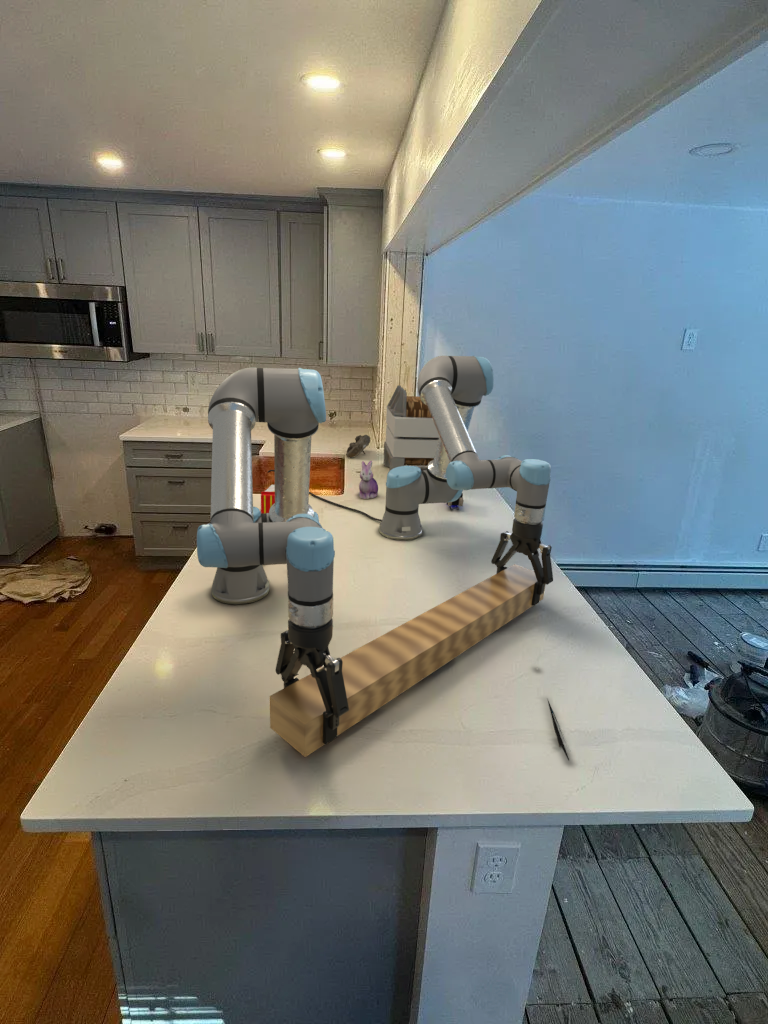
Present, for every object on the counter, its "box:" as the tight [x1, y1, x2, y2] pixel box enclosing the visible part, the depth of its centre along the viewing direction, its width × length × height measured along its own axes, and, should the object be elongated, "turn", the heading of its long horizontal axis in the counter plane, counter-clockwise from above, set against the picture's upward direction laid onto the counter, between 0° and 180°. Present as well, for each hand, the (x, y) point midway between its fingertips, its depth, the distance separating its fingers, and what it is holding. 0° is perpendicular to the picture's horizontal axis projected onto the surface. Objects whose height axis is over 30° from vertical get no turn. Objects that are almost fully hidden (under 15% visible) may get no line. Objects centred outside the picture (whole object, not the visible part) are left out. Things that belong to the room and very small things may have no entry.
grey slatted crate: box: [383, 384, 439, 471], centre depth 268 cm, size 34×33×41 cm
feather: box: [536, 668, 570, 761], centre depth 113 cm, size 2×28×2 cm
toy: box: [260, 484, 275, 513], centre depth 209 cm, size 12×13×30 cm
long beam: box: [268, 563, 547, 758], centre depth 127 cm, size 83×10×7 cm, turn 137°
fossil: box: [345, 434, 371, 459], centre depth 304 cm, size 22×10×15 cm
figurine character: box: [446, 492, 464, 511], centre depth 230 cm, size 7×8×15 cm
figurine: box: [358, 460, 379, 500], centre depth 236 cm, size 9×10×15 cm
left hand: (310, 724), depth 103 cm, fingers closed on long beam, 10 cm apart
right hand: (517, 596), depth 154 cm, fingers closed on long beam, 10 cm apart
